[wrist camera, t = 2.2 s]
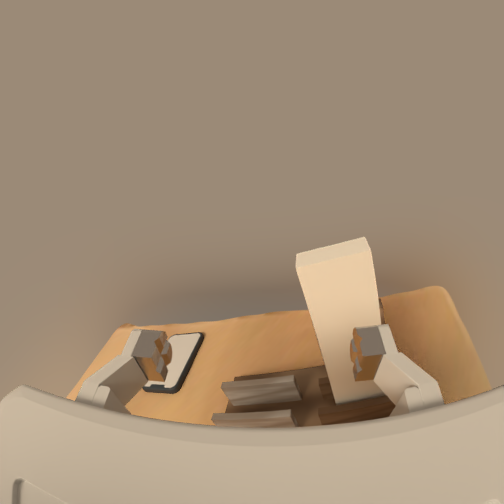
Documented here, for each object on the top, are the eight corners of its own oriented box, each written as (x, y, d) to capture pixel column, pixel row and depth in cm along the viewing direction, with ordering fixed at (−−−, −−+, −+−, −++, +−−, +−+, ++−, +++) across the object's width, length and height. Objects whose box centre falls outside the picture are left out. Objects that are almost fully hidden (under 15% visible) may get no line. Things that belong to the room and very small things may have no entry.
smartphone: (173, 339, 63) (142, 392, 49) (170, 334, 62) (138, 387, 48) (207, 336, 60) (179, 395, 46) (204, 331, 59) (175, 389, 45)
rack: (413, 434, 26) (418, 410, 23) (219, 454, 33) (199, 434, 30) (396, 356, 37) (395, 327, 35) (238, 382, 45) (223, 358, 42)
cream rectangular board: (386, 406, 30) (370, 249, 21) (338, 415, 31) (295, 268, 23) (383, 391, 32) (365, 236, 23) (338, 400, 34) (296, 253, 25)
